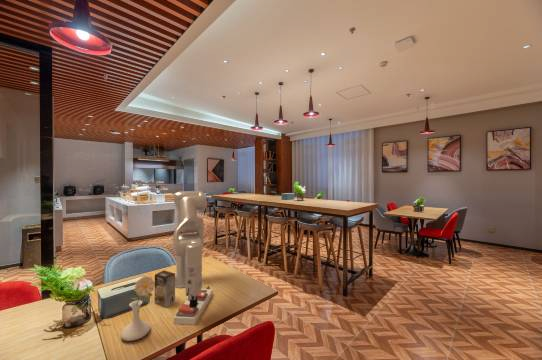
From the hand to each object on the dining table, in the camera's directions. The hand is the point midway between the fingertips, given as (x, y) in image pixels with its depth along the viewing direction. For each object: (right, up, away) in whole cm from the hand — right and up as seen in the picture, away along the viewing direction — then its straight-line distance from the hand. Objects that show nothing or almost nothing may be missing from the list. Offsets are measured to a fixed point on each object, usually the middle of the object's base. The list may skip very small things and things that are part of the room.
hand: (193, 306), depth 114 cm
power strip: (-2, -6, +14) cm, 15 cm away
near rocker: (-3, -2, 0) cm, 3 cm away
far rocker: (-2, -2, +14) cm, 14 cm away
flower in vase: (-21, -6, -11) cm, 24 cm away
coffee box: (-20, -6, +14) cm, 25 cm away
